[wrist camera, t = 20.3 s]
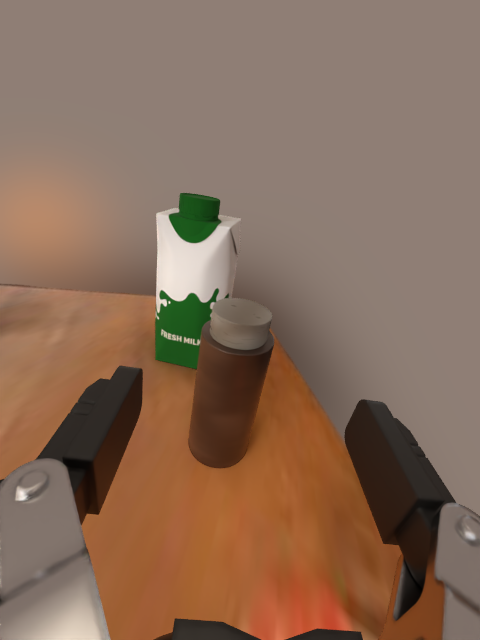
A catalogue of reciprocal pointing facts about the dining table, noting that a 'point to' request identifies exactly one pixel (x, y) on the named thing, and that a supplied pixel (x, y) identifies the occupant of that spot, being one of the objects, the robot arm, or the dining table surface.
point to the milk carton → (192, 273)
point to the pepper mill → (229, 380)
